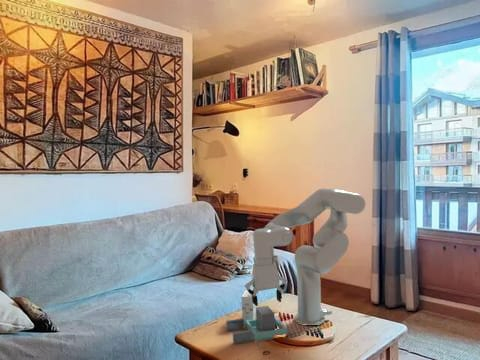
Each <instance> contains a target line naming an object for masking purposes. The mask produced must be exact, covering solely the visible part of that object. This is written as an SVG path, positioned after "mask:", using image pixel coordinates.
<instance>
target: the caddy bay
mask: <svg viewBox="0 0 480 360" xmlns="http://www.w3.org/2000/svg"><path fill="white" fill-rule="evenodd" d="M225 324H226V329H225V330H226V332H232V344H233V345H238V344H245V343H251V342H253V338H252V331H251V330H249V331H247V330H245V324H244V319H242V318H237V319H229V320H226V321H225Z"/></svg>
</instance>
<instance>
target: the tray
mask: <svg viewBox="0 0 480 360" xmlns="http://www.w3.org/2000/svg"><path fill="white" fill-rule="evenodd" d="M274 321H275V324H276V325H277V326H278V327H279V328H280V329H277V330H270V331H263V332H260V331H259V330H258V328H257V327H256V319H252V320H245V324H244V326H245V329H246V331H249V330H251V331H252V341H253V342H255V343H256V342H261V341H262V342H263V341H268V340H270V341H271V340H275V339H274V336H275V335H283V334H287V335H288V328H286V326H285V325H284V324H283V323H282V322H281V321H280V320H279V319H278V317H277V316H275V315H274Z"/></svg>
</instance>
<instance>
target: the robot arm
mask: <svg viewBox="0 0 480 360" xmlns="http://www.w3.org/2000/svg"><path fill="white" fill-rule="evenodd" d="M365 208H366V200H365V198H364V197H363V196H362V195H361V194H359V193H355V192H349V191H345V190H341V189H333V188H319V189H317V190H315V191H314V192H313V193H312V194H311V195H310V196H308V197H307V198H306V199H305V200H303V201H302V202H301V203H299V204H298V205H297V206H295V207H294V208H291V209H289V210H286V211H283V212H282V213H280V214H278V215H277V216H275V217H274V218H273V219H272V220H270V221H269V222H268V223H267V224H266V225H265V226H264V227H263V228H262V227H261V228H257V229H255V230H254V231H253V234H252V235H253V237H252V238H253V250H254V251H253V252H254V263H253V264H252V271H251V273H252V274H251V276H252V278H251V280H250V281H248V282H247V283H245V285H244V287H245V290H247V291H248V292H249V293H250V294H251V295H252V301H253V304H255V306H256V307H259V304H258V293H259V292H260V291H268V290H273V289H276V290H275V292H276V295H275V296H276V300H277V301H278V302H279V303H281V302H282V300H283V299H282V298H283V295H282V292H283V290H284V289H285V287H286V285H287V282H288V279H287V278H286V277H283V276H279V271H278V266H277V262H276V260H278V255H275V254H274V251H275V250H274V247H284V246H285V247H286V246H288V245H290V244H291V243H292V242H293V239H294V233H293V231H292V230H291V229H290V228H293V227H296V226H302V225H308V224H310V223H312V222H313V221H314V220H315V219H317V218H318V216H320V215H321V214H322V213H323V212H324V211H326V210H330V213H329V217H328V219H327V220H326V221H325V222H324V224H323V225H322V226H321V227H320V228H319V229H318V230H317V232H315V234H314V235H313V237H312V244H313V245H314V246H311V245H309V244H308V245H307V244H306V245H305V244H304V245H301V246H299V247H298V248H296V250H295V253H294V265H295V267H296V268H295V269H296V276H297V277H296V278H297V281H296V282H297V284H296V285H297V314H295V315H294V317H293V318H294V319H295V320H296V321H297V322H299V323H302V324H307V325H318V326H320V324H321V325H323V324H324V323H325V320H326V316H330V315H332V314H333V313H332V310H331V309H326V308H322V307H321V306H322V303H321V301H322V299H321V298H322V295H321V294H322V293H321V291H322V290H321V275H325V274H327V273H329V272H331V270H332V269H333V268H335V266H336V265H337V264H338V262H339V261H340V260H341V259H342V257H344V255H345V254H346V252H347V250H348V248H349V243H350V241H349V240H350V239H349V237H348V235H347V234H346V233H345V231H346V229H347V227H348V216H347V214H352V215H353V214H354V215H359V214H360V213H362V212H363V211H364V210H365ZM280 282H281V283H280ZM251 286H252V288H253V287H254V288H253V290H252V288H250V287H251ZM295 320H294V321H295ZM297 322H296V323H297ZM322 323H323V324H322Z"/></svg>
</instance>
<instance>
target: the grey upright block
mask: <svg viewBox="0 0 480 360" xmlns="http://www.w3.org/2000/svg"><path fill="white" fill-rule="evenodd" d="M274 317H275V312H274V311H273V310H272V309H271V308H270V306H268V305H263V306H256V327H257V328H258V330H259V331H260V332H263V331H270V330H275V321H274Z"/></svg>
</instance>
